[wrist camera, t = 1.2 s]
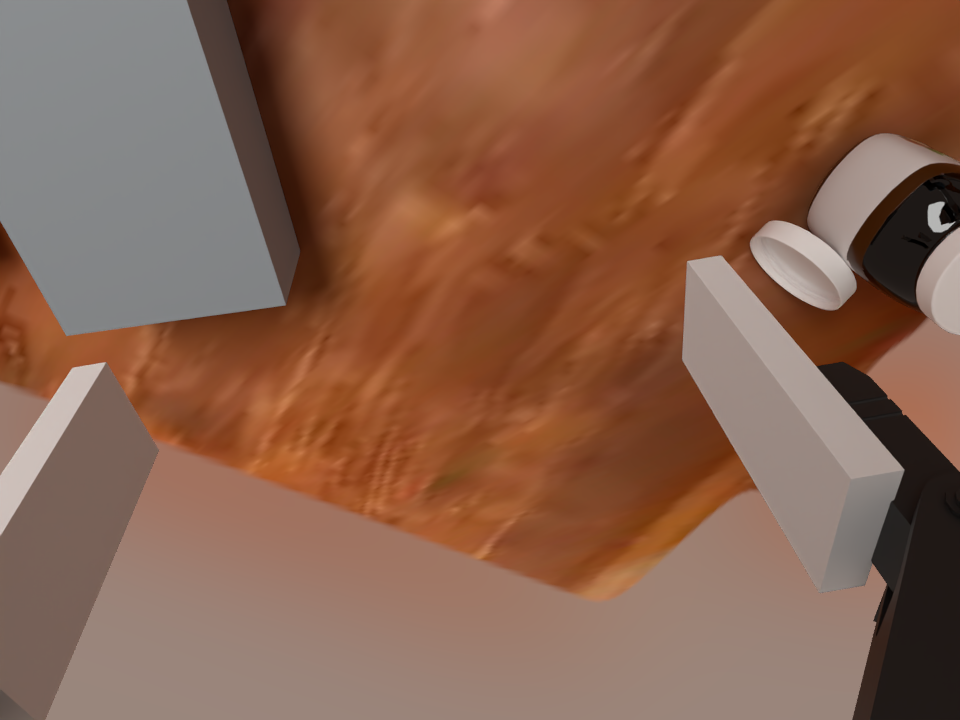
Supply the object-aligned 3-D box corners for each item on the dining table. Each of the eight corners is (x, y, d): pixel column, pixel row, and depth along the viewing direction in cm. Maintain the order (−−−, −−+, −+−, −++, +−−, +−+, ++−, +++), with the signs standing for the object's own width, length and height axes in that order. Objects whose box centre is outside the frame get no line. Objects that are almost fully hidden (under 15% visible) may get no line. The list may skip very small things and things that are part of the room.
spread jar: (968, 167, 43) (1128, 249, 33) (847, 308, 48) (955, 412, 39) (829, 92, 39) (966, 160, 30) (716, 254, 45) (800, 354, 35)
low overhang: (-132, -204, 28) (-256, -223, 22) (156, -240, 28) (100, -267, 23) (108, 277, 41) (66, 335, 36) (300, 251, 41) (286, 305, 36)
